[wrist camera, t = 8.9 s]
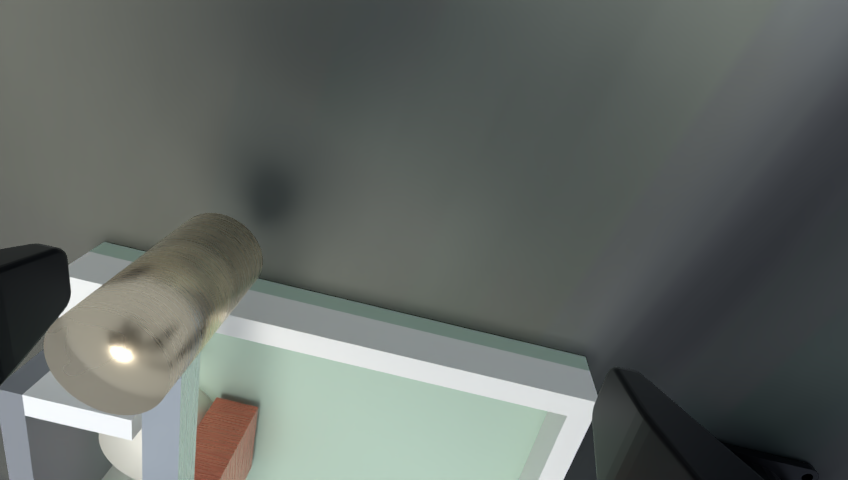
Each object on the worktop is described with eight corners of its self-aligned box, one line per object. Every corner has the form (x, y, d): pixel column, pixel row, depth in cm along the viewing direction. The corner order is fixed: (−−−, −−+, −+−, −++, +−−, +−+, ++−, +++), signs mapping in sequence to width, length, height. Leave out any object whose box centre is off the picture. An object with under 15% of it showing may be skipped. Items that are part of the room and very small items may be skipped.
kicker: (296, 194, 20) (170, 328, 12) (250, 551, 29) (161, 770, 21) (218, 175, 20) (38, 297, 12) (197, 538, 29) (87, 753, 21)
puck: (221, 388, 25) (197, 425, 23) (215, 453, 27) (192, 494, 24) (130, 366, 25) (97, 400, 23) (130, 433, 27) (100, 471, 24)
